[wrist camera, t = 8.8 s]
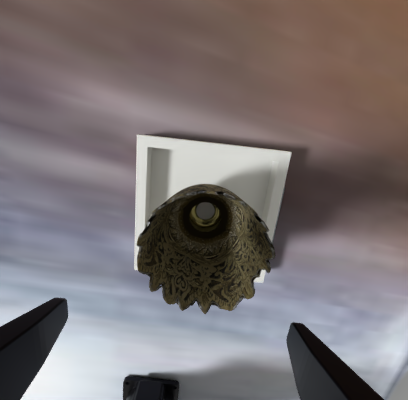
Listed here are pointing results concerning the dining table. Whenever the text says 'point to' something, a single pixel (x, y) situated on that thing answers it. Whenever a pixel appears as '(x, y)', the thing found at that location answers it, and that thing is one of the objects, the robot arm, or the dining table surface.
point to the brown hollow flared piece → (204, 249)
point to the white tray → (208, 177)
